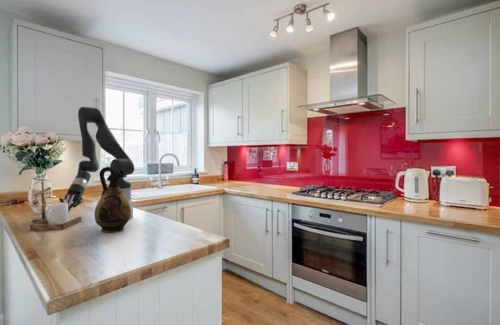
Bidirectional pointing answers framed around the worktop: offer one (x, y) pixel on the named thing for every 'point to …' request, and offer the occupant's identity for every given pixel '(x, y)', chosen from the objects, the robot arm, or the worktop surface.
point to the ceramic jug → (112, 203)
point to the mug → (57, 213)
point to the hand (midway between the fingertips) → (64, 213)
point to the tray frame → (53, 225)
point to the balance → (36, 203)
